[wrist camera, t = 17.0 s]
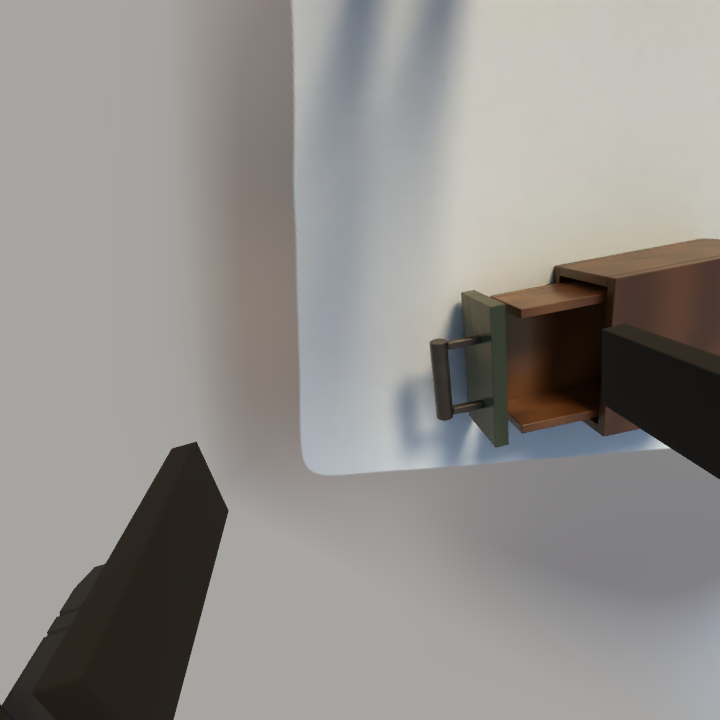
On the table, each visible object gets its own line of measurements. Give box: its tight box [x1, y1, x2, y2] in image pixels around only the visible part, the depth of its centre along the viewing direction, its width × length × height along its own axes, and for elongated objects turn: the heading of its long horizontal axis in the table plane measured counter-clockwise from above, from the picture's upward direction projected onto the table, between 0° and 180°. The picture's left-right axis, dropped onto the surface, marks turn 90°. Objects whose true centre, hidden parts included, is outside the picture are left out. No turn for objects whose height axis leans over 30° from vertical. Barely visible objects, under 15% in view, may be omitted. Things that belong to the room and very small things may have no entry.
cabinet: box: [554, 239, 720, 436], centre depth 35 cm, size 15×14×8 cm
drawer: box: [430, 280, 608, 447], centre depth 35 cm, size 18×12×6 cm
